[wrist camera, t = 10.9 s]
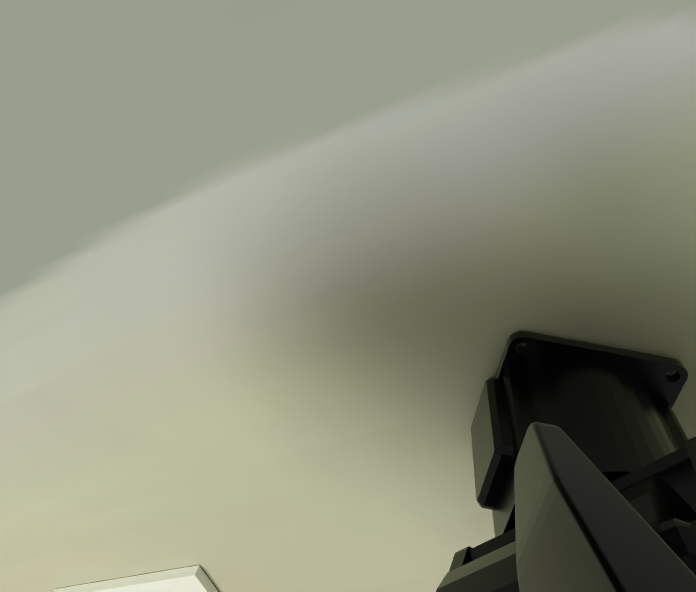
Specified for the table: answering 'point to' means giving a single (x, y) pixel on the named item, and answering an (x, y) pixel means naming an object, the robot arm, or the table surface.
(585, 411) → the robot arm
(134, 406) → the table surface
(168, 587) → the mat
